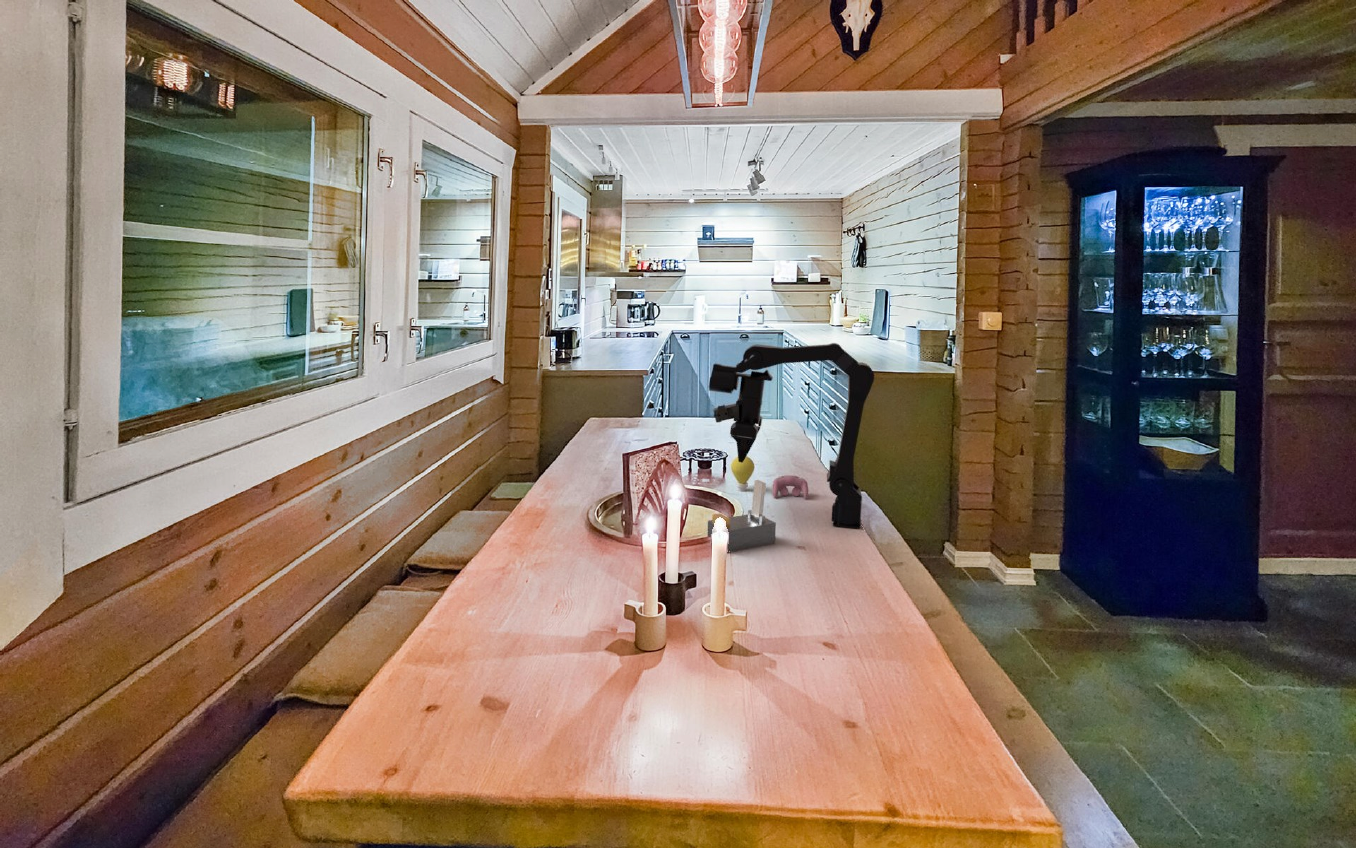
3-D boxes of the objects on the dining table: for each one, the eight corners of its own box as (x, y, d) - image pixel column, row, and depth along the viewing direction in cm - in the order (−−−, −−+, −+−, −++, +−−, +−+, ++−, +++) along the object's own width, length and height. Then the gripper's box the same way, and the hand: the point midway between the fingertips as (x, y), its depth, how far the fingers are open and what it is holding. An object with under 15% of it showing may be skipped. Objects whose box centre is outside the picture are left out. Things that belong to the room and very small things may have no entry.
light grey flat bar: (750, 516, 169) (754, 516, 170) (758, 520, 167) (761, 519, 167) (754, 480, 168) (758, 480, 169) (762, 483, 166) (765, 483, 166)
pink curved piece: (807, 502, 206) (807, 477, 208) (808, 499, 202) (809, 474, 204) (771, 500, 207) (772, 476, 209) (772, 497, 203) (772, 472, 205)
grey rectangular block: (755, 533, 174) (756, 504, 173) (775, 544, 167) (776, 514, 166) (707, 541, 168) (708, 512, 167) (726, 553, 161) (726, 522, 160)
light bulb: (754, 493, 208) (755, 458, 206) (730, 493, 208) (731, 458, 206) (752, 487, 215) (753, 453, 213) (729, 486, 215) (730, 453, 213)
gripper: (722, 387, 191) (715, 445, 194) (712, 397, 173) (705, 461, 176) (765, 392, 189) (757, 451, 192) (760, 403, 171) (751, 468, 174)
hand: (742, 458), depth 184 cm, fingers open, 9 cm apart
